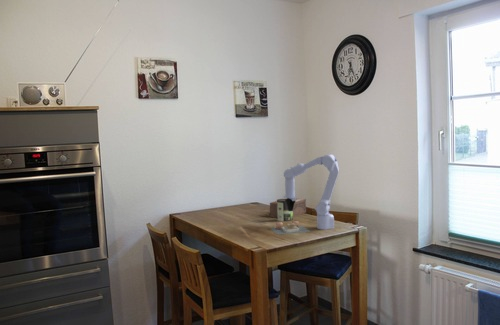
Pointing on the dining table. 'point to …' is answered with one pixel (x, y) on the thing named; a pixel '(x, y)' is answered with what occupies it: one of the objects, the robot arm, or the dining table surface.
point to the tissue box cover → (297, 209)
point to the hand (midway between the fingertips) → (290, 211)
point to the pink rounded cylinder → (296, 223)
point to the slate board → (302, 229)
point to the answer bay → (291, 230)
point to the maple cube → (291, 226)
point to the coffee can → (283, 211)
